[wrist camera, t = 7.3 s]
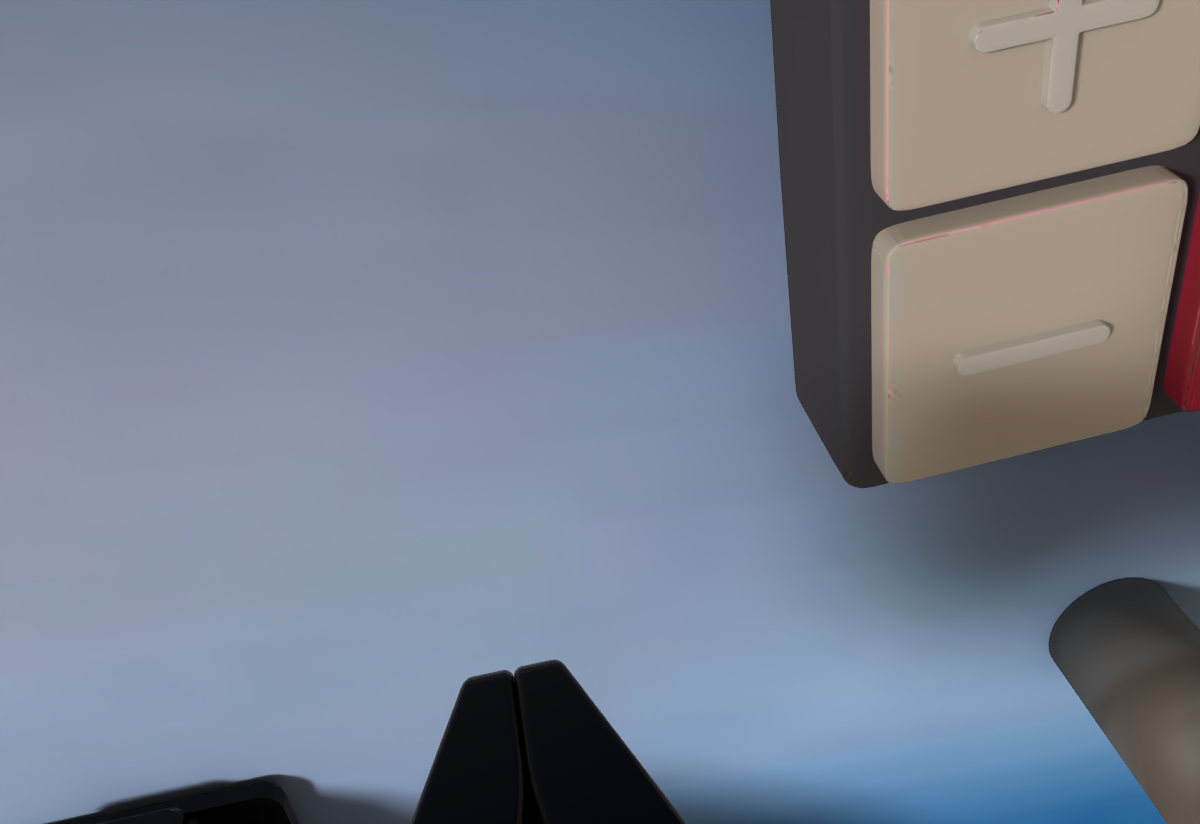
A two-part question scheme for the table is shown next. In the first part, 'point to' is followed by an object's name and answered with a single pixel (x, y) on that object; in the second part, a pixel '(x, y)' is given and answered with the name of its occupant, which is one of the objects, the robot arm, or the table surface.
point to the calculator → (988, 223)
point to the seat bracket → (1139, 685)
